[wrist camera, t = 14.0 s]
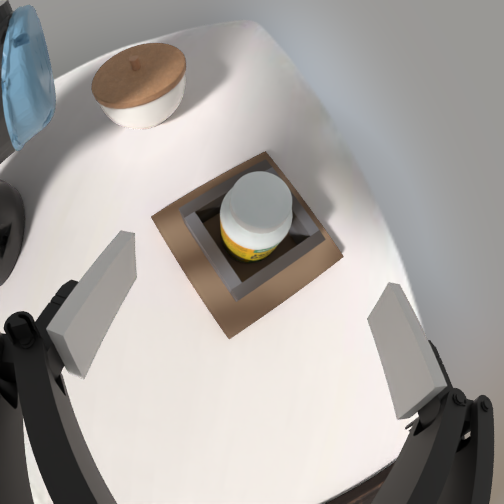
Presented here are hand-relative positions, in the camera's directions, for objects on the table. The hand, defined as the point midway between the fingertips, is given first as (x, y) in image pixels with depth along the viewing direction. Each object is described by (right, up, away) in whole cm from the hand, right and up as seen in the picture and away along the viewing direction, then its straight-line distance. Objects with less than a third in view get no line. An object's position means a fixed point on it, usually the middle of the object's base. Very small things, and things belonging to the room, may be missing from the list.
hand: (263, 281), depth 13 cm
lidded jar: (-14, +19, +17) cm, 29 cm away
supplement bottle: (-1, +3, +14) cm, 14 cm away
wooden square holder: (-1, +3, +15) cm, 15 cm away
